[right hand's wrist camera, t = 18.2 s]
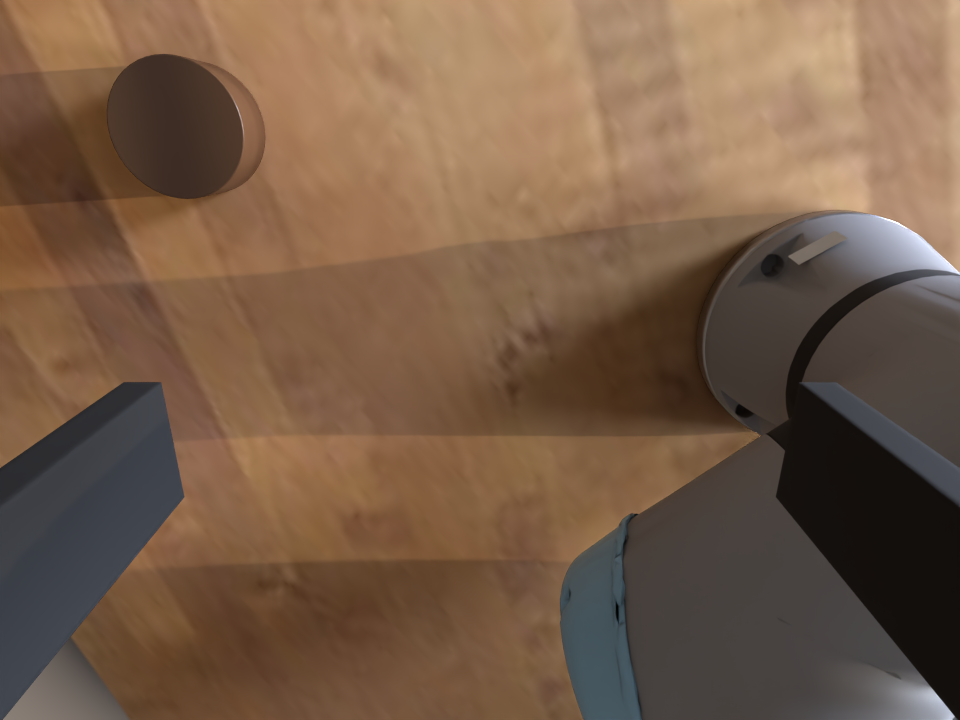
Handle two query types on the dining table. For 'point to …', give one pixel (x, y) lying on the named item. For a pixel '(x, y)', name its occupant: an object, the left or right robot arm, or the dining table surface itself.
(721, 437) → the dining table surface
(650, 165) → the dining table surface
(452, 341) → the dining table surface
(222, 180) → the brown cylinder
